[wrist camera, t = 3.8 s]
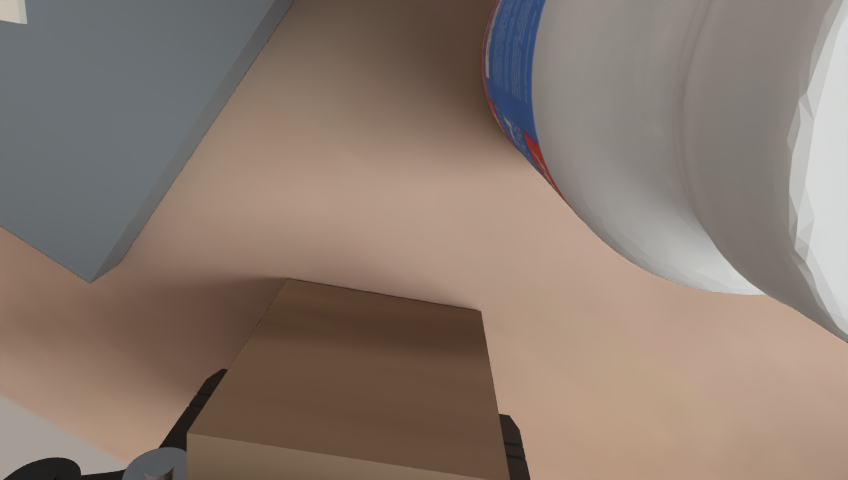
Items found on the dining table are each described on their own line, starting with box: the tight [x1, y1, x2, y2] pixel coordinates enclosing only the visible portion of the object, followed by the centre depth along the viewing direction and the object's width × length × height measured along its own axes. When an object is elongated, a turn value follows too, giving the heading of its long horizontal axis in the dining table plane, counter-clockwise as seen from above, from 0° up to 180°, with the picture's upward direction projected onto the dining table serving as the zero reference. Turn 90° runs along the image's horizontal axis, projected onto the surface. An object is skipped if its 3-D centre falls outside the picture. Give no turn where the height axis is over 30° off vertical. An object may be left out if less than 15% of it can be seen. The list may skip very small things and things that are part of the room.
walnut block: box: [187, 279, 510, 480], centre depth 12 cm, size 6×6×6 cm
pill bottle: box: [482, 0, 848, 343], centre depth 7 cm, size 6×5×10 cm
